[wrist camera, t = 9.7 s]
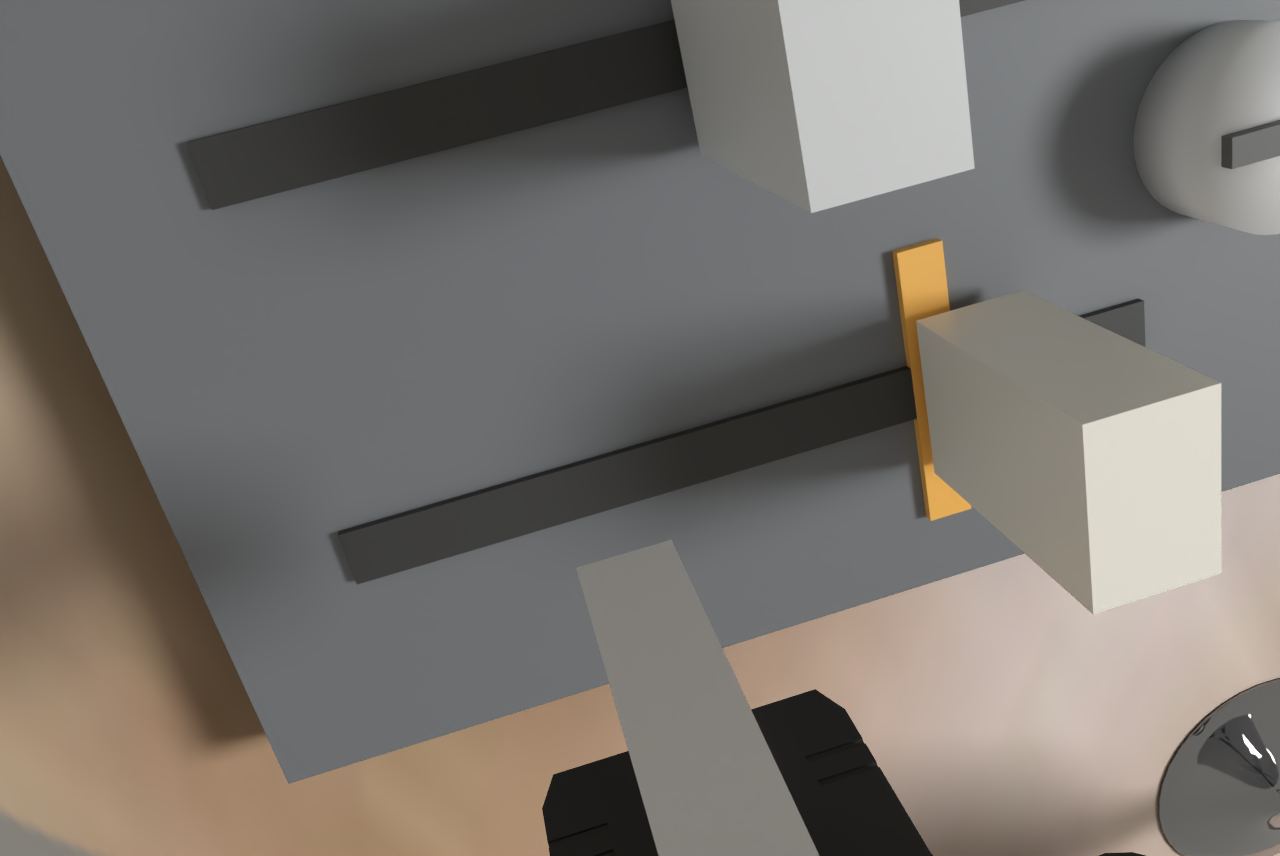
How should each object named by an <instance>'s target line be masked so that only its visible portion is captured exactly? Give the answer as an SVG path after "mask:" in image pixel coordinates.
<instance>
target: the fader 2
mask: <svg viewBox="0 0 1280 856" xmlns="http://www.w3.org/2000/svg"><path fill="white" fill-rule="evenodd" d="M916 325H917V333H918V342H919V350H920V358H921V366H922V374H923V383H924V391H925V399H926V407H927V415H928V424H929V432H930V440H931V448H932V456H933V464H934V473H935V474H936V475H937V476H939V477H940V478H941V479H942V480H943V481H944V482H945V483H946V484H948V485H949V486H950V487H951V488H952V489H953V490H954V491H955V492H957V493H958V494H959V495H960V496H961V497H962V498H963V499H964V500H966V501H967V502H968V503H969V504H970V505H971V506H972V507H973V508H975V509H976V510H977V511H978V512H979V513H980V514H981V515H982V516H983V517H985V518H986V519H987V520H988V521H989V522H990V523H991V524H992V525H994V526H995V527H996V528H997V529H998V530H999V531H1000V532H1001V533H1003V534H1004V535H1005V536H1006V537H1007V538H1008V539H1009V540H1010V541H1012V542H1013V543H1014V544H1015V545H1016V546H1017V547H1018V548H1019V549H1020V550H1022V551H1023V552H1024V553H1025V554H1026V555H1027V556H1028V557H1029V558H1031V559H1032V560H1033V561H1034V562H1035V563H1036V564H1037V565H1038V566H1040V567H1041V568H1042V569H1043V570H1044V571H1045V572H1046V573H1047V574H1049V575H1050V576H1051V577H1052V578H1053V579H1054V580H1055V581H1056V582H1057V583H1059V584H1060V585H1061V586H1062V587H1063V588H1064V589H1065V590H1066V591H1068V592H1069V593H1070V594H1071V595H1072V596H1073V597H1074V598H1075V599H1077V600H1078V601H1079V602H1080V603H1081V604H1082V605H1083V606H1084V607H1086V608H1087V609H1088V610H1089V611H1090V612H1091V613H1092V614H1096V613H1100V612H1103V611H1106V610H1109V609H1112V608H1115V607H1118V606H1121V605H1124V604H1128V603H1131V602H1134V601H1137V600H1140V599H1143V598H1146V597H1149V596H1152V595H1156V594H1159V593H1162V592H1165V591H1168V590H1171V589H1174V588H1177V587H1181V586H1184V585H1187V584H1190V583H1193V582H1196V581H1199V580H1202V579H1205V578H1209V577H1212V576H1215V575H1218V574H1221V382H1218V381H1216V380H1214V379H1212V378H1210V377H1208V376H1206V375H1203V374H1201V373H1199V372H1197V371H1195V370H1193V369H1191V368H1188V367H1186V366H1184V365H1182V364H1180V363H1178V362H1176V361H1173V360H1171V359H1169V358H1167V357H1165V356H1163V355H1161V354H1159V353H1156V352H1154V351H1152V350H1150V349H1148V348H1146V347H1144V346H1141V345H1139V344H1137V343H1135V342H1133V341H1131V340H1129V339H1126V338H1124V337H1122V336H1120V335H1118V334H1116V333H1114V332H1111V331H1109V330H1107V329H1105V328H1103V327H1101V326H1099V325H1097V324H1094V323H1092V322H1090V321H1088V320H1086V319H1084V318H1082V317H1079V316H1077V315H1075V314H1073V313H1071V312H1069V311H1067V310H1064V309H1062V308H1060V307H1058V306H1056V305H1054V304H1052V303H1049V302H1047V301H1045V300H1043V299H1041V298H1039V297H1037V296H1035V295H1032V294H1030V293H1028V292H1026V291H1024V290H1021V291H1018V292H1014V293H1011V294H1007V295H1004V296H1000V297H997V298H993V299H990V300H986V301H983V302H979V303H976V304H972V305H969V306H965V307H962V308H959V309H955V310H952V311H948V312H945V313H941V314H938V315H934V316H931V317H927V318H924V319H920V320H917V321H916Z"/></svg>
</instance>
